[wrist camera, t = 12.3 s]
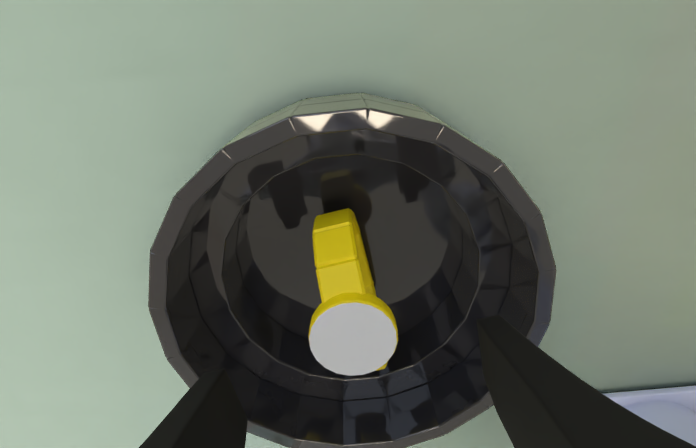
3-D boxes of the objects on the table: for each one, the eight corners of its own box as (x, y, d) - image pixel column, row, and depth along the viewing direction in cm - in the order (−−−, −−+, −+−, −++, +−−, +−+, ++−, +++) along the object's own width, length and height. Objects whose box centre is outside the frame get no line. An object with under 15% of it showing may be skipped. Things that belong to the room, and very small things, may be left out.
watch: (394, 304, 19) (416, 407, 13) (337, 316, 19) (336, 422, 14) (365, 185, 17) (377, 251, 11) (300, 201, 17) (281, 274, 11)
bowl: (493, 353, 21) (537, 439, 16) (233, 377, 21) (204, 468, 17) (508, 75, 15) (579, 84, 11) (160, 112, 16) (86, 137, 11)
